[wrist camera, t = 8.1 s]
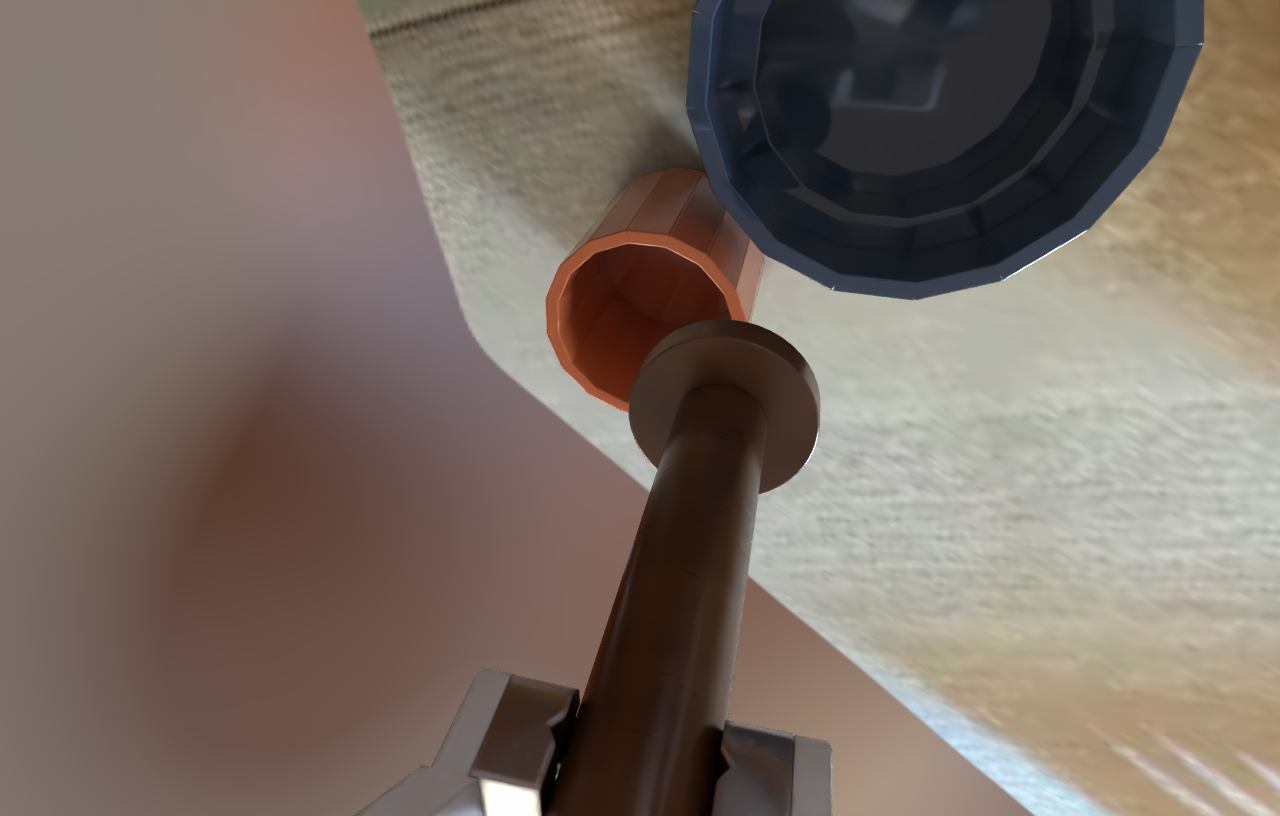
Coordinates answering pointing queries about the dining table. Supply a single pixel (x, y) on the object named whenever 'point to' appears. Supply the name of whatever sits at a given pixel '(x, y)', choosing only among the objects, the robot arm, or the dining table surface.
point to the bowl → (930, 128)
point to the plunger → (686, 568)
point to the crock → (648, 279)
